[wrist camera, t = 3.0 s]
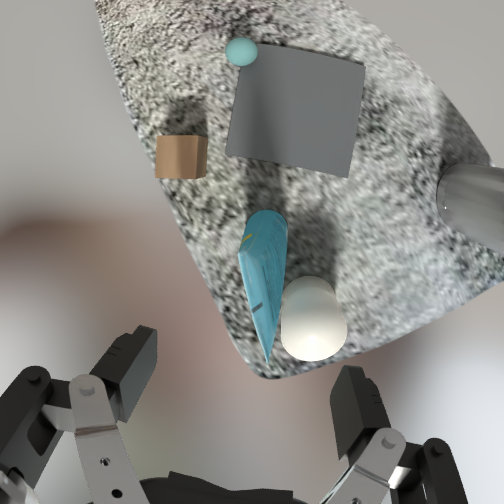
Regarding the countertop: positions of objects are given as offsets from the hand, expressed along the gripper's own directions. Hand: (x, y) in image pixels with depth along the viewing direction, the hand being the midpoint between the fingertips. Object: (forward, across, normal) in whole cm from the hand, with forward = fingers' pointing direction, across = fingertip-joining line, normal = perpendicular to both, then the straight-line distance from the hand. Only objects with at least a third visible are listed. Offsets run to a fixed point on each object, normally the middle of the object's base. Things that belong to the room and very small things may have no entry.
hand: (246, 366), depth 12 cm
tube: (+24, 0, 0) cm, 24 cm away
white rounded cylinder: (+24, -7, +8) cm, 27 cm away
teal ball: (+24, +6, -20) cm, 31 cm away
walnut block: (+22, +8, -7) cm, 24 cm away
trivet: (+24, -1, -15) cm, 28 cm away
